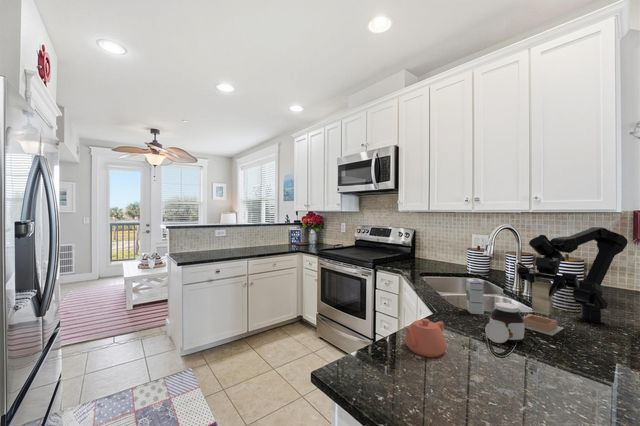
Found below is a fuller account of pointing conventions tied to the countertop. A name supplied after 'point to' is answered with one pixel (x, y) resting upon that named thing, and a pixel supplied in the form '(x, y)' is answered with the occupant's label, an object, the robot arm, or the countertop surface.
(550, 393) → the countertop surface
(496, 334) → the spread jar
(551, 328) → the pink rectangular tray
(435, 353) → the teapot
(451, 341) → the countertop surface
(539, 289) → the maple peg
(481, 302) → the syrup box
